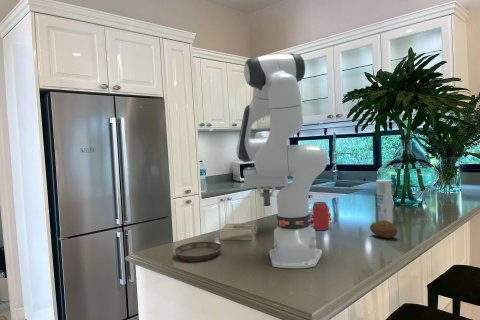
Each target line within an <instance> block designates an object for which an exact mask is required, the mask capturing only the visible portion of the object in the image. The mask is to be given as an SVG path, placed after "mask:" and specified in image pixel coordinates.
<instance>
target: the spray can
mask: <svg viewBox="0 0 480 320" xmlns="http://www.w3.org/2000/svg"><path fill="white" fill-rule="evenodd" d="M375 183H376V184H375V185H376V186H375V187H376V189H375V190H376V202H377V207H376V208H377V219H378V220H377V222H379V221H382V220H386V221H388V222H391V223H392V224H393V225H394V214H393V212H394V211H393V190H392V189H393V187H392V179H376V180H375Z"/></svg>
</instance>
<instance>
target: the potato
mask: <svg viewBox="0 0 480 320" xmlns="http://www.w3.org/2000/svg"><path fill="white" fill-rule="evenodd" d="M369 229H370V231H371V232H372V233H373V234H374V235H376V236H378V237H380V238H383V239H391V238H394V237H395V236H396V235H397V234H398V230H397V229H398V228H397V227H396V225H394V223H393V224H392V223H391V222H388V221H386V220H382V221H379V222H378V221H376V222H373V223H371V225H370V226H369Z"/></svg>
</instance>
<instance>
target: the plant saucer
mask: <svg viewBox="0 0 480 320" xmlns="http://www.w3.org/2000/svg"><path fill="white" fill-rule="evenodd" d="M222 249H223V246H222V244H220V243H218V242H214V241H193V242H188V243H184V244H182V245H178V246H177V247H176V248H175V249H174V254H176V255H177V256H178V258H179V259H180V260H182V261H185V260H187V262H201V260H202V261H206V260H211V259H213V258H215V257H217V255H218V254H219V253H220V252H221V250H222ZM210 258H211V259H210Z"/></svg>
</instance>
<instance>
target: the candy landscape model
mask: <svg viewBox="0 0 480 320" xmlns="http://www.w3.org/2000/svg"><path fill="white" fill-rule="evenodd" d="M327 207H328V223H329V225H331V224H332V223H333V220H332V217H331V216H332V213H331V212H330V207H329V206H328V205H327ZM308 208H309V214H310V218H311V224H310V226H311V227H314V222H313V206H311V205H308Z"/></svg>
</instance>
